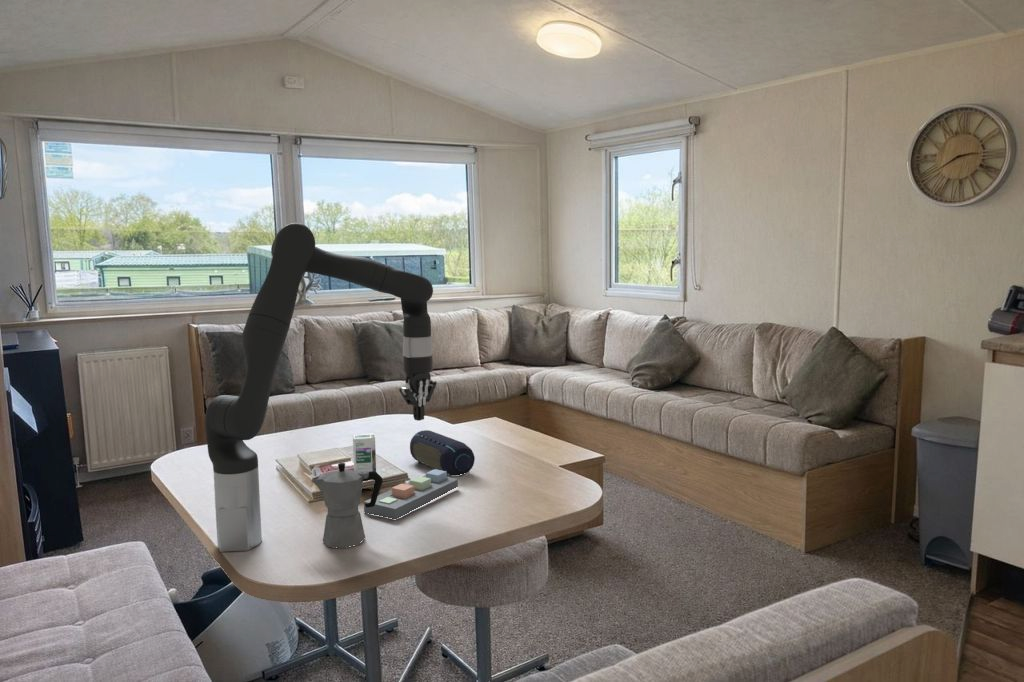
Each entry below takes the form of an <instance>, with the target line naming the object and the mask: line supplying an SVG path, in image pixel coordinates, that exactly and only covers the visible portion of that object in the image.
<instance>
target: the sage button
mask: <svg viewBox="0 0 1024 682" xmlns="http://www.w3.org/2000/svg"><path fill="white" fill-rule="evenodd" d="M408 482H409V485H412V486H414V489H415V490H420V491H423V490H425V489H427V488H429V487H431V478H426V477H422V475H421V476H420V475H418V476H415V477H413V478H411V479H409V481H408Z"/></svg>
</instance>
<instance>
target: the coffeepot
mask: <svg viewBox="0 0 1024 682" xmlns="http://www.w3.org/2000/svg"><path fill="white" fill-rule="evenodd" d="M337 466H338V467H337V468H338V470H334V471H329V472H326V473H324V474H323V475H318V476H315V477H313V478H312V479H311V481H310V482H312V483H314V485H315V486H316V487H317V488H318V491H320V493H321V495H322V496H323V500H324V501H323V502H324V504H325V505H324V506H325V507H326V508H327V513H326V516H325V523H324V530H323V536H322V537H323V538H322V542H323V544H324V543H325V544H326V545H327V546H328V548H330V547H334V548H333V549H335V548H336V547H337V548H345V549H347V548H346V547H349V546H353V545H357V544H359V543H360V542H361V541H362V540H363V539H364V538H365V539H366V535H365V529H364V525H363V521H362V520H363V519H362V515H361V512H360V510H359V505H360V504H361V499H362V484H363V481H368V480H372V479H373V480H375V483H374V486H373V489H372V493H371V494H370V499H371V501H370V503H367V504H365V506H366V507H367V508H368V507H374V506H375V503H376V500H377V497H378V495H380V491H381V487H382V485H383V482H384V481H383V477H382V476H381V475H380V474H379V473H378V472H377V471H376V472H375V471H371V472H359V471H354V469H353V470H352V469H345V468H346V463H345V462H340V463H338V464H337ZM365 539H364V540H365ZM364 540H363V541H364ZM325 544H324V545H325ZM326 545H325V546H326ZM359 545H360V544H359ZM327 546H326V547H327ZM357 546H358V545H357Z"/></svg>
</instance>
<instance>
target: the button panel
mask: <svg viewBox="0 0 1024 682" xmlns="http://www.w3.org/2000/svg"><path fill="white" fill-rule="evenodd" d="M421 477H426V474H424V475H421ZM405 484H407V485H409V481H408V482H406V483H405ZM456 487H458V488H459V479H457V478H452V477H448V476H447V480H444V481H442V482H440V483H434V482H431V487H429V488H427V489H425V490H423V491H420V490H415V489H414V495H412V496H410V497H407V498H405V499H402V498H398V497H394V496H392V489H390V490H388V491H385V492H383V493H379V494H378V497H377V500H376V503H375V506H374V507H368V508H367V507H366V506H365V504H367V503H370V501H371V498H369V499H366V500H364V501H363V513H364V512H365V513H369V514H374V515H379V516H383V517H388V518H392V519H397V518H399V517H401V516H403V515H405V514H407V513H409V512H410V511H412V510H414V509H416V508H418V507H420V506H422V505H424V504H426V503H428V502H430V501H431V500H433V499H435V498H437V497H439V496H441V495H443V494H445V493H447V492H448V491H450V490H452V489H454V488H456ZM365 513H364V514H365ZM369 514H368V515H369Z"/></svg>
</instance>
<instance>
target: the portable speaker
mask: <svg viewBox="0 0 1024 682" xmlns="http://www.w3.org/2000/svg"><path fill="white" fill-rule="evenodd" d="M409 451H410V452H409V453H410V455H411V456H412V458H413V460H416V461H417V462H419V463H422V464H423V465H427V466H429V467H431V468H433V469H436V470H442V471H447V475H448V474H449V475H448V476H452V475H460V474H464V473H466V474H468V473H469V472H470V471H471V470H472V468H473V467H474V465H475V460H476V459H475V458H476V457H475V454H474V451H473V449H471V447H470V446H468V444H466V443H465V442H462V441H459V440H457V439H454V438H451V437H448V436H445V435H443V434H441V433H438V432H435V431H432V430H428V429H427V430H420V431H418V432H416V433H415V434H414V435H413V436H412V438H411V439H410V442H409ZM464 475H465V474H464Z"/></svg>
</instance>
